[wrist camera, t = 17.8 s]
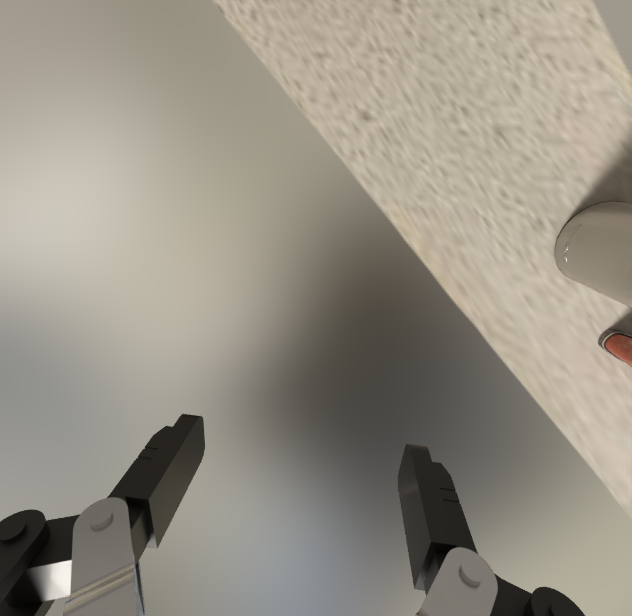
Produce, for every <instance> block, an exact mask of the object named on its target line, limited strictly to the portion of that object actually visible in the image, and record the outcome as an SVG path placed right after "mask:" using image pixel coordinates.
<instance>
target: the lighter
mask: <svg viewBox="0 0 632 616" xmlns="http://www.w3.org/2000/svg"><path fill="white" fill-rule="evenodd" d="M598 344H599V346H601V347H602V348H603V349H604V350H605V351H606V352H608V353H609V354H611V355H612V356H614V357H615V358H617V359H618V360H620V361H622V362H624V363H626V364H628V365H630V366H631V367H632V335H630V334H628V333H625V332H621V331H618V330H613V329H611V330H608V331H606V332H604V333H603V334H601V336H600V337H599V339H598Z"/></svg>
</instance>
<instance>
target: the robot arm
mask: <svg viewBox="0 0 632 616" xmlns="http://www.w3.org/2000/svg"><path fill="white" fill-rule="evenodd" d="M555 259H556V264H557V266H558V268H559V269H560V271H561V272H562V273H563V274H564V275H565V276H567V277H568V278H570V279H572V280H574V281H576V282H578V283H580V284H582V285H585V286H587V287H589V288H591V289H593V290H595V291H597V292H599V293H601V294H603V295H605V296H608V297H610V298H612V299H614V300H616V301H618V302H620V303H622V304H625V305H627V306H629V307H631V308H632V203H624V202H614V201H612V202H603V203H599V204H596V205H593V206H591V207H589V208H586V209H584V210H583V211H581V212H580V213H578V214H577V215H576V216H574V217H573V218H572V219H571V220H570V221H569V222H568V223H567V224H566V226H565V227H564V229H563V230H562V231H561V233H560V235H559V237H558V239H557V243H556V247H555ZM204 450H205V439H204V423H203V417H202V416H195V415H187V414H182V415H181V416H180V417H179V419H178V420H177V422H176V423H175V425H174V426H173V427H170V426H165V427H164V428H163V429H161V430H160V431H159V432H157V433H156V434H155V435H153V437H152V438H151V439H150V441H149V442H148V443H147V445H146V446H145V449H143V450H142V452H141V453H140V454H139V456H138V458H137V459H136V460H135V461H134V462H133V464H132V465H131V466H130V468H129V469H128V471H127V472H126V473H125V475H124V476H123V477H122V479H121V480H120V481H119V483H118V484H117V485H116V487H115V488H114V490H113V491H112V492H111V494H110V495H109V496H108V497H107V498H106V499H102V500H99V501H97V502H95V503H94V504H92V505H90V506H89V507H88V508H87V509H85V510H84V511H83V512H82V514H80V515H76V516H70V517H65V518H58V519H53V520H47V521H46V519H45V516H44V514H43V513H42V512H40V511H38V510H24V511H21V512H18V513H15V514H13V515H11V516H9V517H7V518H5V519H3V520H2V521H1V522H0V616H45V615H46V613H47V612H48V610H49V609H50V607H51V605H52V604H53V602H54V601H55V599H57V598H61V597H66V596H70V599H69V601H67V602H66V604H65V606H64V612H63V616H146V614H145V605H144V597H143V589H142V580H141V571H140V564H139V559H140V557H141V555H142V553H143V552H144V550H145V548H146V547H149V548H156V549H157V548H158V546H159V544H160V542H161V540H162V538H163V536H164V534H165V532H166V530H167V528H168V526H169V524H170V522H171V520H172V518H173V516H174V514H175V512H176V510H177V508H178V506H179V504H180V502H181V500H182V498H183V496H184V495H185V492H186V490H187V489H188V486H189V484H190V483H191V481H192V479H193V477H194V475H195V473H196V471H197V469H198V467H199V465H200V463H201V461H202V458H203V455H204ZM398 491H399V497H400V503H401V509H402V516H403V522H404V528H405V534H406V540H407V546H408V552H409V558H410V565H411V571H412V577H413V583H414V589H418V590H424V591H425V593H426V598H425V600H424V602H423V604H422V606H421V608H420V610H419V612H418V613H417V614H416V615H415V616H585V615H584V614H583V612H582V611H581V610H580V609H579V607H578V606H577V605H576V604H575V603H574V602H572V601H571V600H570V599H569V598H568V597H566V596H565V595H564V594H562V593H560V592H559V591H557V590H555V589H551V588H548V587H539V588H537V589H536V590H535V591H534V592H533V593H532V594H531V593H529V592H527V591H525V590H523V589H521V588H519V587H517V586H515V585H513V584H511V583H509V582H507V581H505V580H503V579H501V578H500V577H498V576H497V575H496V574H495V573H493V571H492V569H491V568H490V566H489V565H488V563H487V562H486V561H485V560H484V559H483V558H482V557H481V556H480V555H479V554H478V553H477V550H476V548H475V545H474V542H473V539H472V536H471V533H470V530H469V528H468V525H467V522H466V519H465V516H464V513H463V510H462V507H461V504H460V503H459V498H458V496H457V493H456V492H455V487H454V484H453V481H452V478H451V476H450V474H449V473H448V472H447V470H446V469H445V468H444V467H443V465H442V464H441V463H436V462H432V460H431V457H430V453H429V450H428V448H427V447H426V446H419V445H412V444H406V446H405V449H404V453H403V457H402V461H401V465H400V468H399V473H398Z"/></svg>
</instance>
